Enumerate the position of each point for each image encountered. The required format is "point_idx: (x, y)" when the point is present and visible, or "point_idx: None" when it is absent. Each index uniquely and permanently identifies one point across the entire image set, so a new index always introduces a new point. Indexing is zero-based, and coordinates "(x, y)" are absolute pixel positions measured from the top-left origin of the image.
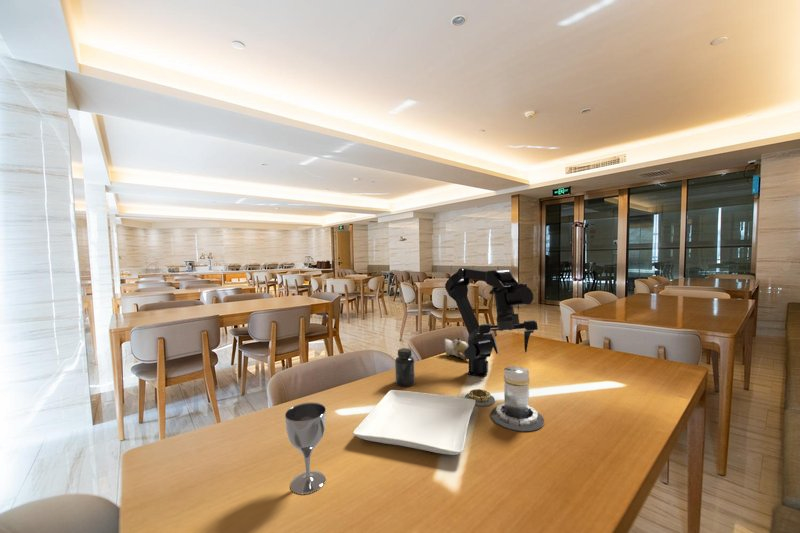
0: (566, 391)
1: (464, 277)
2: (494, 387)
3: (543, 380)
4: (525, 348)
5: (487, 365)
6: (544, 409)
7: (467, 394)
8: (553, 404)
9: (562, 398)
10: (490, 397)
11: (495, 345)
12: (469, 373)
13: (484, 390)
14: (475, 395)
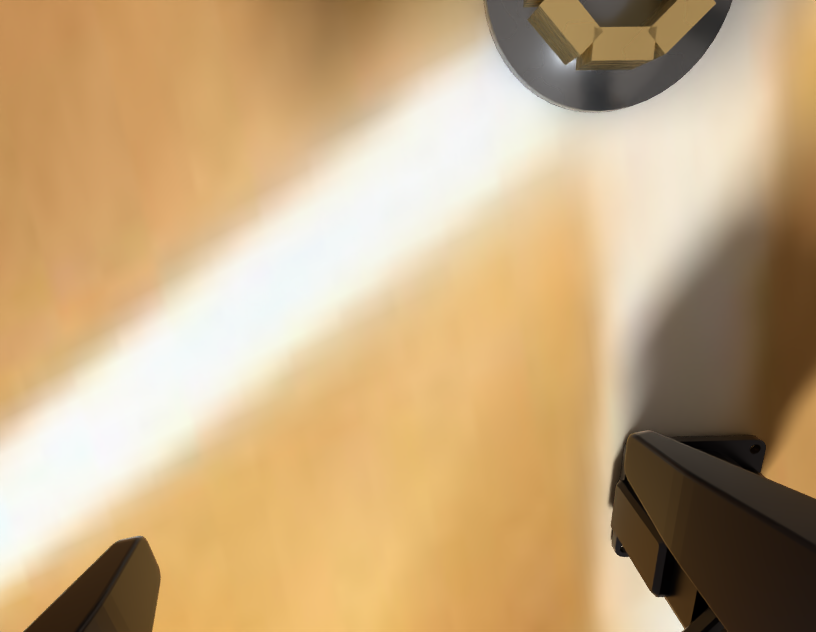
0: (44, 430)
1: None
2: (525, 285)
3: (223, 546)
4: (84, 597)
5: (642, 544)
6: (96, 33)
7: (725, 2)
8: (62, 163)
9: (35, 301)
10: (526, 34)
11: (782, 524)
12: (748, 440)
13: (597, 51)
14: (655, 15)
